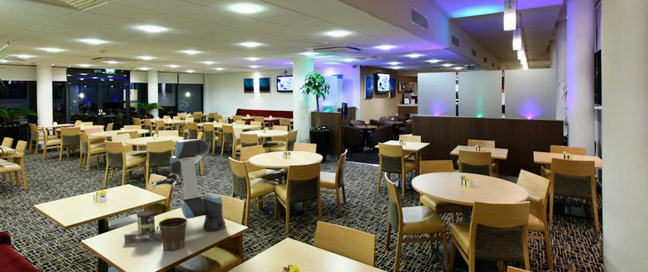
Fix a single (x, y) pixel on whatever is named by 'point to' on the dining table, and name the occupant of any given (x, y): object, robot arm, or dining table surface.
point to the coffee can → (146, 222)
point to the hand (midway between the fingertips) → (163, 186)
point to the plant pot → (173, 233)
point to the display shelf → (143, 237)
